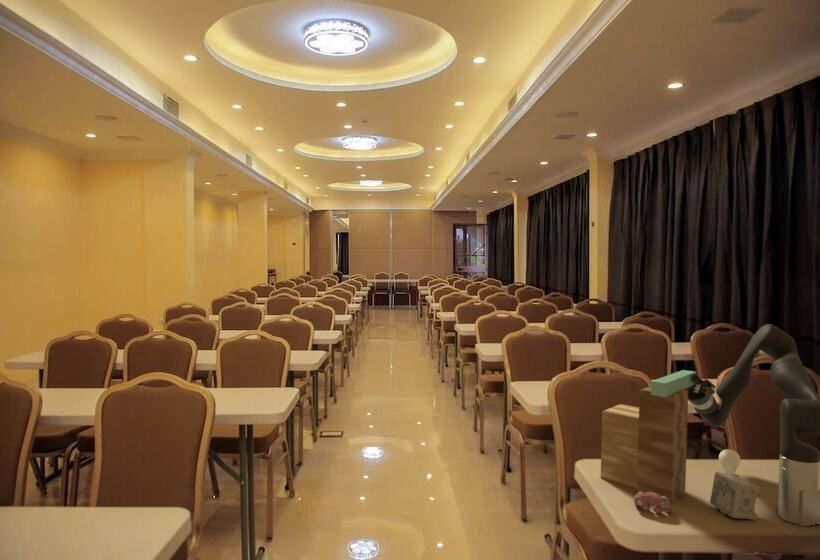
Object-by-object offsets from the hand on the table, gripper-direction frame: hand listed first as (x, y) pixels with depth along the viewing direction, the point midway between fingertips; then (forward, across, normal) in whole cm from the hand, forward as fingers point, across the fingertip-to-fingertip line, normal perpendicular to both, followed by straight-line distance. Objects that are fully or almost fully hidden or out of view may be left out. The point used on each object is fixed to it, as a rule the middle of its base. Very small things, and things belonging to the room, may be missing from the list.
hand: (683, 375), depth 183 cm
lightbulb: (-30, +10, +24) cm, 39 cm away
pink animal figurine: (+4, +1, +44) cm, 44 cm away
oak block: (-13, -15, +33) cm, 39 cm away
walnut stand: (-8, -2, +36) cm, 37 cm away
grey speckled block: (-9, +18, +36) cm, 41 cm away
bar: (+5, 0, +7) cm, 8 cm away
